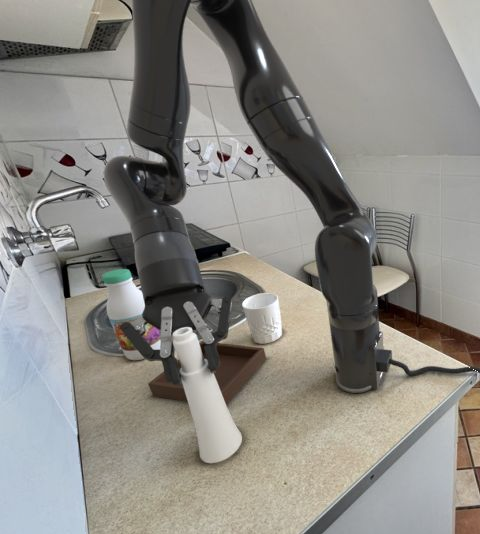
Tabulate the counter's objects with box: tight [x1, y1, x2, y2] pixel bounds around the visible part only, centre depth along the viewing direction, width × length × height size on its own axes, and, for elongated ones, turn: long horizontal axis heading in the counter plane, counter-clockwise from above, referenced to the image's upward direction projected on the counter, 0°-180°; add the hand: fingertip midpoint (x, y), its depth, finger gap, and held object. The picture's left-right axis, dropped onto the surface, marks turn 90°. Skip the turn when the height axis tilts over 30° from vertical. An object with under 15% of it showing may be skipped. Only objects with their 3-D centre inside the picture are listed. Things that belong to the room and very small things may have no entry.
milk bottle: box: [101, 268, 161, 361], centre depth 71 cm, size 8×8×20 cm
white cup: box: [241, 292, 283, 345], centre depth 78 cm, size 8×8×10 cm
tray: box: [147, 340, 267, 405], centre depth 66 cm, size 16×14×3 cm
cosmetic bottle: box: [173, 327, 243, 464], centre depth 47 cm, size 6×6×22 cm
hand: (196, 377), depth 44 cm, fingers closed on cosmetic bottle, 3 cm apart
